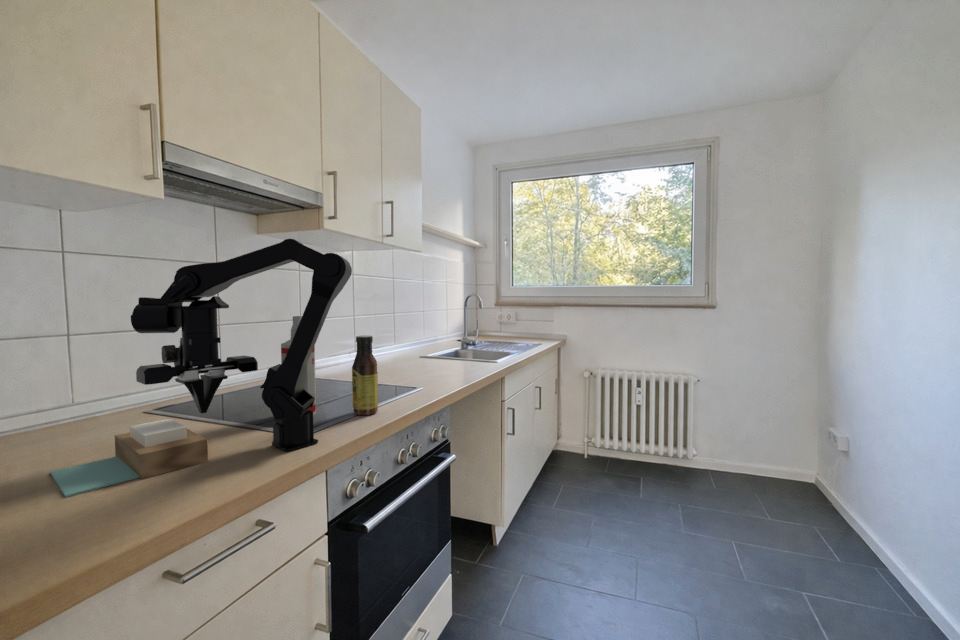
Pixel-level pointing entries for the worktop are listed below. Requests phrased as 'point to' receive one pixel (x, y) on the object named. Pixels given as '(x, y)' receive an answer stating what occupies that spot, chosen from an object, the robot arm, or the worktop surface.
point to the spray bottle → (310, 367)
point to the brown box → (161, 454)
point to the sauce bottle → (365, 378)
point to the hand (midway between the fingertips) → (203, 412)
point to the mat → (92, 476)
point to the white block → (158, 432)
